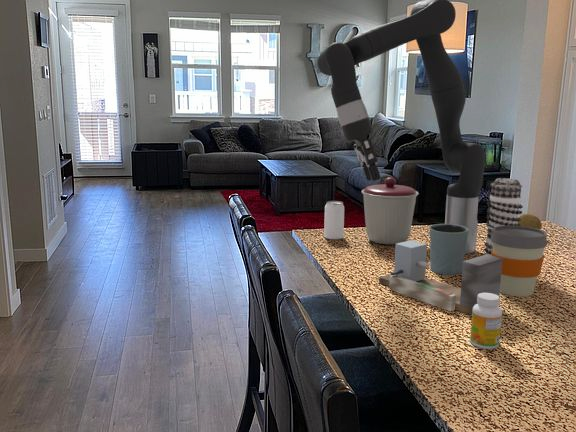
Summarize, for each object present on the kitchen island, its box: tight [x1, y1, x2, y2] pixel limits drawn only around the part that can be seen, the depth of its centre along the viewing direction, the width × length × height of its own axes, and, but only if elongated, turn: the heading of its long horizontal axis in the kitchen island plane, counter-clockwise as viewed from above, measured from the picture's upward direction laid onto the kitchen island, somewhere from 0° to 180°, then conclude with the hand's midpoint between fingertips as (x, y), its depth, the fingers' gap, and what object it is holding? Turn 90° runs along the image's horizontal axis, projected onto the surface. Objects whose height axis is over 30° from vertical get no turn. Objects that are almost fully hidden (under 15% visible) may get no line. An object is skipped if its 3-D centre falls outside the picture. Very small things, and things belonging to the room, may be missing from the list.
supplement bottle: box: [469, 293, 503, 350], centre depth 108 cm, size 5×5×10 cm
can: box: [323, 200, 345, 241], centre depth 187 cm, size 6×6×12 cm
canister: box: [361, 177, 420, 246], centre depth 182 cm, size 18×18×21 cm
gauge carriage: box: [390, 239, 430, 282], centre depth 138 cm, size 8×10×9 cm
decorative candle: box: [483, 177, 524, 255], centre depth 153 cm, size 9×9×25 cm
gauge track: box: [378, 254, 503, 316], centre depth 134 cm, size 28×11×12 cm, turn 38°
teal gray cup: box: [429, 223, 469, 276], centre depth 153 cm, size 10×10×12 cm
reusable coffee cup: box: [491, 226, 548, 297], centre depth 137 cm, size 13×12×15 cm
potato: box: [518, 213, 543, 230], centre depth 190 cm, size 7×8×8 cm
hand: (373, 179), depth 147 cm, fingers open, 8 cm apart
